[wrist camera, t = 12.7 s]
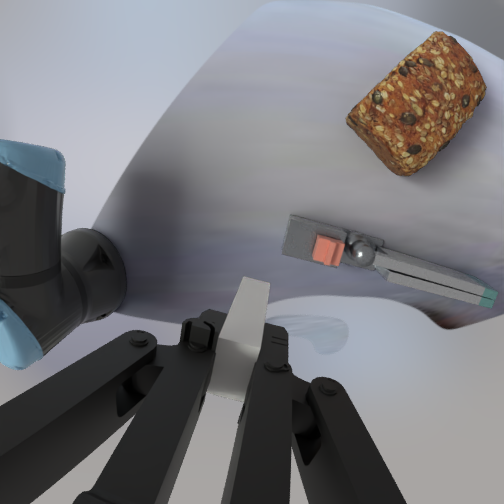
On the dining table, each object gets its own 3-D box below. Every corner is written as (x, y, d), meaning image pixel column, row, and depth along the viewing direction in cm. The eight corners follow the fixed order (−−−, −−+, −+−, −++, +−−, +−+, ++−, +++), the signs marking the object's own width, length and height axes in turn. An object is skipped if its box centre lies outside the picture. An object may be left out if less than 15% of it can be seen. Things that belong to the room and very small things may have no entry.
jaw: (342, 249, 39) (352, 264, 33) (347, 232, 39) (359, 243, 32) (471, 287, 38) (493, 303, 32) (477, 273, 38) (499, 288, 31)
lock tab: (312, 255, 36) (314, 261, 33) (317, 234, 35) (320, 239, 33) (335, 261, 36) (339, 268, 33) (341, 240, 35) (346, 246, 33)
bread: (417, 46, 31) (446, 21, 22) (465, 101, 32) (502, 89, 23) (337, 120, 36) (353, 103, 26) (391, 179, 37) (422, 182, 27)
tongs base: (282, 246, 41) (281, 262, 34) (290, 213, 40) (291, 222, 32) (465, 295, 39) (489, 314, 32) (475, 268, 38) (501, 284, 31)
